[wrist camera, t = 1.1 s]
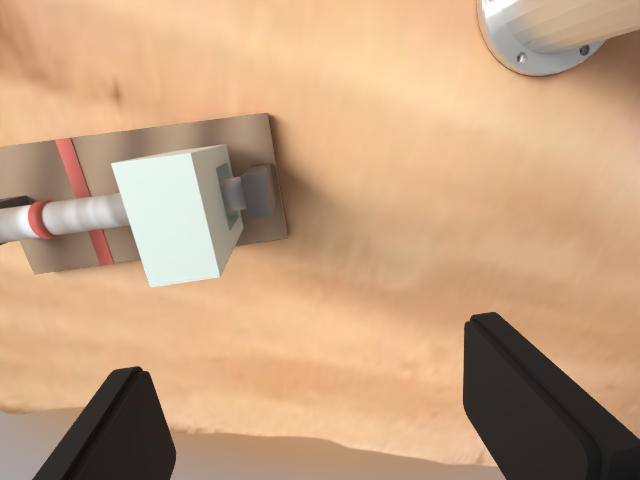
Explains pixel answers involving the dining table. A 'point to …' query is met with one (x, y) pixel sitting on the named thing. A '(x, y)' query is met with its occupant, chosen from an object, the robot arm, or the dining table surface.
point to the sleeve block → (179, 213)
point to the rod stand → (104, 196)
